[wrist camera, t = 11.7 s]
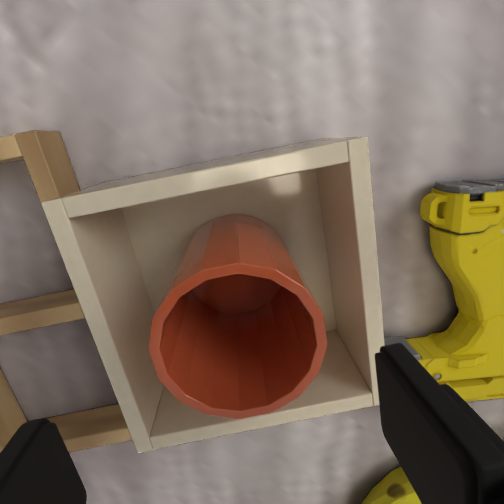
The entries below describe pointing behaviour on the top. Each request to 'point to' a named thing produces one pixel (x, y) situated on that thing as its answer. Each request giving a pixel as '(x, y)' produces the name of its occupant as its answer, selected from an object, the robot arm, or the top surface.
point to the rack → (50, 300)
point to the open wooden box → (174, 241)
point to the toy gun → (467, 288)
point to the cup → (237, 322)
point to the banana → (393, 490)
